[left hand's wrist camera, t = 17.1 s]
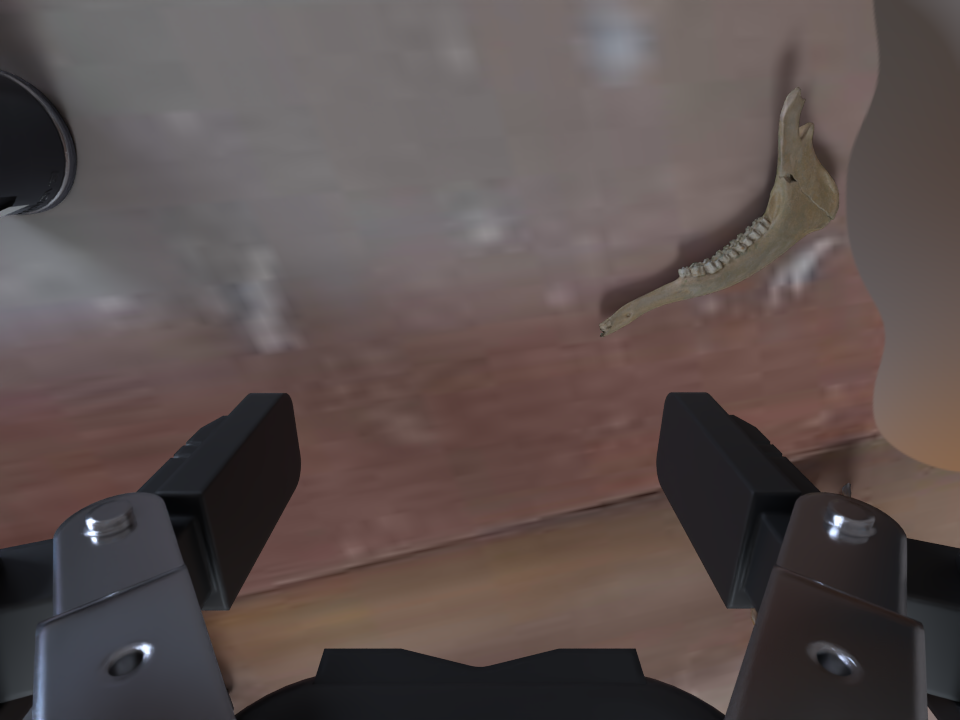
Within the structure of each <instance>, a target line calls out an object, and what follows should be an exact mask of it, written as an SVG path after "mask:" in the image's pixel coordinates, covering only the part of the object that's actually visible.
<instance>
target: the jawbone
mask: <svg viewBox="0 0 960 720" xmlns="http://www.w3.org/2000/svg"><path fill="white" fill-rule="evenodd" d="M800 95H801V89H799V87H797V88H796V89H794V90H793V91H792V92H791V93H789V95H788V96H787V98H786V100H785V102H784V106H783V108H782V111H781V114H780V120H779V130H778V165H777V175H776V179H775V184H774V187H773V189H772V191H771V194H770V198H769V202H768V206H767V209H766V211H765V213H764V215H763V216H762V217H760V218H758V220H756V219H755V221H753V222H752V226H751V227H749V226H747V228H746V229H745V230H746V231H745V233H744V234H743V233H740V234H739V235H737V240H734V239H733V240H732V241H730V244H731V245H730V246H728V245H726V246H724V248H723V250H722V251H721V250H719V251H717V252H716V255H715V256H712V259H711V260H709V258H706V259H704V262H703V263H701V262H699V263H697V262H695V263H692V265H691V266H690V267H689V268H688V266H686V268H684V267H682V269H679V270H678V273H679V275H680V277H679V278H678V279H677V280H675V281H673V282H671V283H668V284H666V285H664V286H662V287H660V288H658V289H656V290H654V291H652V292H650V293H648V294H646V295H644V296H642V297H640V298H637V299H635V300H633V301H631V302H629V303H628V304H626V305H624V306H623V307H621V308H620V309H619V310H618V311H616V312H615V313H614V314H613V315H612V316H611V317H609V318H608V319H606V320H605V321H604V322H602V323H601V324H599V325H600V330H601V331H603V333H601V335H600V336H601V337H604V336H606V335H609V334H611V333H613V332H615V331H617V330H619V329H620V328H622V327H624V326H626V325H627V324H629V323H630V322H632V321H634V320H635V319H636V318H638V317H639V316H641V315H643V314H644V313H646V312H648V311H650V310H652V309H655V308H657V307H660V306H662V305H665V304H669V303H673V302H677V301H681V300H686V299H690V298H695V297H699V296H703V295H707V294H710V293H713V292H716V291H719V290H722V289H725V288H728V287H730V286H733V285H735V284H737V283H739V282H741V281H743V280H744V279H746V278H748V277H750V276H751V275H753V274H755V273H756V272H758V271H759V270H761V269H762V268H764V267H765V266H767V265H768V264H770V263H771V262H773V261H774V260H775V259H777V258H778V257H779V256H781V255H782V254H784V253H785V252H786V251H787V250H788V249H789V248H791V247H792V246H793V245H794V244H795V243H797V242H798V241H799V240H800V239H802V238H803V237H804V236H806V235H807V234H809V233H811V232H813V231H817V230H820V229H822V228H824V227H825V226H827V225H828V223H829V222H830V221H831V219H832V220H833V219H834V218H835V215H836V213H837V211H838V207H839V192H838V188H837V186H836V183H835V181H834V180H833V178H832V177H831V176H830V174H829V173H828V171H827V170H826V169H825V168H824V167H823V166H822V164H821V163H820V161H819V160H818V158H817V156H816V154H815V151H814V148H813V144H812V137H813V132H814V124H813V123H807V124H805V125H803V126H801V127H799V119H800V114H801V110H802V107H803V105H804V102H805V99H802V97H801V96H800Z"/></svg>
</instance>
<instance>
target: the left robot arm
mask: <svg viewBox="0 0 960 720" xmlns="http://www.w3.org/2000/svg"><path fill="white" fill-rule="evenodd" d="M75 174H76V153H75V148H74V144H73V140H72V137H71V135H70V132H69V130H68V128H67V126H66V124H65V122H64V120H63V118H62V117H61V115H60V114H59V112H58V111H57V110H56V108H55V107H54V106H53V105H52V103H51V102H50V101H49V100H48V99H47V98H46V97H45V96H44V95H43V94H42V93H41V92H40V91H39V90H37V89H36V88H35V87H34V86H32V85H31V84H29V83H28V82H26V81H25V80H23V79H21V78H19V77H18V76H15V75H13V74H11V73H8V72H5V71H2V70H0V217H2V216H7V215H26V214H34V213H40V212H43V211H47V210H49V209H51V208H53V207H55V206H57V205H58V204H59V203H60V202H61V201H62V200H63V199H64V198H65V197H66V196H67V195H68V193H69V191H70V190H71V188H72V185H73V183H74V179H75ZM656 465H657V475H658V479H659V483H660V485H661V487H662V489H663V491H664V493H665V495H666V497H667V499H668V500H669V502H670V504H671V506H672V508H673V510H674V511H675V513H676V515H677V517H678V519H679V521H680V523H681V524H682V526H683V528H684V530H685V532H686V534H687V536H688V537H689V539H690V541H691V543H692V545H693V547H694V548H695V550H696V552H697V554H698V556H699V558H700V560H701V561H702V563H703V565H704V567H705V569H706V571H707V573H708V574H709V576H710V578H711V580H712V582H713V584H714V585H715V587H716V589H717V591H718V593H719V595H720V597H721V598H722V600H723V602H724V604H725V606H726V608H755V610H756V611H757V613H758V615H757V619H756V622H755V625H754V628H753V631H752V634H751V637H750V640H749V644H748V647H747V650H746V653H745V656H744V659H743V662H742V665H741V668H740V672H739V675H738V678H737V681H736V684H735V687H734V690H733V693H732V697H731V700H730V703H729V706H728V709H727V712H726V715H724V714H723V713H721V712H720V711H718V710H717V709H716V708H714V707H713V706H711V705H709V704H708V703H706V702H704V701H702V700H701V699H699V698H697V697H696V696H694V695H692V694H690V693H688V692H685V691H683V690H681V689H679V688H677V687H675V686H672V685H670V684H667V683H664V682H661V681H658V680H656V679H652V678H648V677H645V676H644V674H643V671H642V668H641V665H640V661H639V658H638V655H637V652H636V649H556V650H552V651H548V652H544V653H540V654H535V655H531V656H527V657H523V658H519V659H515V660H511V661H507V662H503V663H499V664H495V665H491V666H486V667H474V666H469V665H465V664H461V663H457V662H453V661H449V660H445V659H441V658H437V657H433V656H429V655H425V654H420V653H416V652H412V651H408V650H404V649H324V652H323V655H322V658H321V661H320V665H319V668H318V671H317V674H316V676H315V677H312V678H308V679H304V680H302V681H299V682H296V683H293V684H290V685H288V686H285V687H283V688H281V689H279V690H277V691H275V692H272V693H270V694H268V695H266V696H264V697H263V698H261V699H259V700H258V701H256V702H254V703H252V704H251V705H249V706H247V707H246V708H244V709H243V710H242V711H240V712H239V713H237V714H236V715H234V712H233V709H232V706H231V703H230V700H229V697H228V693H227V690H226V687H225V684H224V681H223V678H222V675H221V672H220V668H219V665H218V662H217V659H216V656H215V653H214V650H213V647H212V644H211V640H210V637H209V634H208V631H207V628H206V625H205V622H204V619H203V615H202V612H201V610H229V609H230V608H231V606H232V604H233V602H234V600H235V598H236V597H237V595H238V593H239V591H240V589H241V588H242V586H243V584H244V582H245V580H246V578H247V577H248V575H249V573H250V571H251V569H252V567H253V566H254V564H255V562H256V560H257V558H258V556H259V555H260V553H261V551H262V549H263V547H264V545H265V544H266V542H267V540H268V538H269V536H270V535H271V533H272V531H273V529H274V527H275V525H276V524H277V522H278V520H279V518H280V516H281V514H282V513H283V511H284V509H285V507H286V505H287V503H288V502H289V500H290V498H291V496H292V494H293V492H294V491H295V489H296V487H297V484H298V481H299V477H300V471H301V457H300V450H299V443H298V437H297V430H296V423H295V417H294V410H293V404H292V400H291V398H290V396H289V395H288V394H287V393H250V394H248V395H247V396H246V397H245V398H244V399H243V400H242V401H241V402H240V403H239V405H238V406H237V407H236V408H235V409H234V410H233V411H232V412H231V413H230V414H229V415H228V416H222V417H220V418H218V419H217V420H215V421H213V422H211V423H209V424H207V425H206V426H204V427H202V428H200V429H199V430H198V431H197V432H196V433H195V434H194V435H193V436H192V437H191V438H190V439H189V440H188V441H187V442H186V446H182V447H181V448H180V449H179V450H178V451H177V452H176V453H175V454H174V458H170V459H169V460H168V461H167V462H166V463H165V464H164V465H163V466H162V467H161V468H160V469H159V470H158V471H157V472H156V473H155V474H154V475H153V476H152V477H151V478H150V479H149V480H148V481H147V482H146V483H145V484H144V485H143V486H142V487H141V488H140V489H139V490H138V491H137V492H134V493H126V494H121V495H116V496H113V497H109V498H106V499H103V500H100V501H98V502H95V503H93V504H91V505H89V506H87V507H85V508H83V509H81V510H79V511H78V512H76V513H74V514H73V515H72V516H70V517H69V518H68V519H66V520H65V521H64V522H63V523H62V524H61V525H60V527H59V528H58V529H57V530H56V532H55V534H54V538H53V539H50V540H45V541H40V542H34V543H29V544H24V545H19V546H14V547H9V548H4V549H0V720H23V718H24V717H25V715H26V714H27V713H28V711H29V710H30V709H31V707H32V706H33V709H32V720H928V709H927V706H928V707H929V709H930V710H931V711H932V713H933V714H934V716H935V717H936V718H937V720H960V548H955V547H950V546H945V545H940V544H934V543H929V542H924V541H919V540H914V539H909V538H906V534H905V532H904V530H903V529H902V528H901V527H900V525H899V524H898V523H897V522H896V521H895V520H894V519H892V518H891V517H890V516H888V515H887V514H886V513H884V512H882V511H881V510H879V509H877V508H875V507H873V506H871V505H869V504H867V503H865V502H862V501H860V500H857V499H854V498H851V497H847V496H844V495H839V494H834V493H826V492H820V491H819V490H818V489H817V488H816V487H815V486H814V485H813V484H812V483H811V482H810V481H809V480H808V479H807V478H806V477H805V476H804V475H803V474H802V473H801V472H800V471H799V470H798V469H797V468H796V467H795V466H794V465H793V464H792V463H791V462H790V461H789V460H788V459H787V458H786V457H782V453H781V452H780V451H779V450H778V449H777V448H776V447H775V446H774V445H773V444H770V441H769V440H768V439H767V438H766V437H765V436H764V435H763V434H762V433H761V432H760V431H759V430H758V429H757V428H756V427H754V426H753V425H751V424H749V423H747V422H745V421H744V420H742V419H740V418H738V417H736V416H734V415H728V414H727V412H726V411H725V410H724V409H723V408H722V407H721V406H720V405H719V404H718V403H717V402H716V401H715V400H714V399H713V398H712V397H711V396H710V395H709V394H708V393H706V392H671V393H669V394H668V395H667V397H666V400H665V404H664V410H663V417H662V424H661V431H660V438H659V444H658V451H657V461H656Z"/></svg>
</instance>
